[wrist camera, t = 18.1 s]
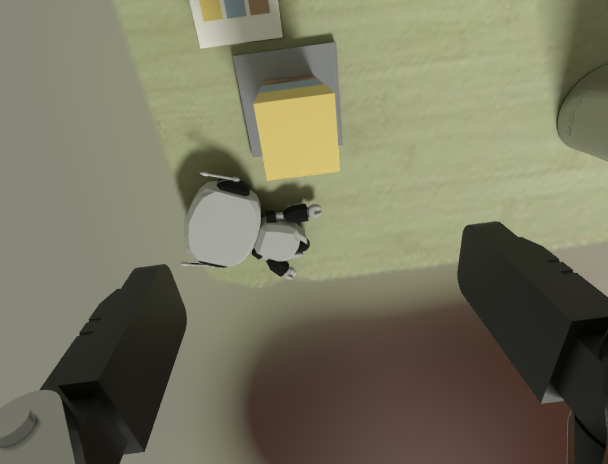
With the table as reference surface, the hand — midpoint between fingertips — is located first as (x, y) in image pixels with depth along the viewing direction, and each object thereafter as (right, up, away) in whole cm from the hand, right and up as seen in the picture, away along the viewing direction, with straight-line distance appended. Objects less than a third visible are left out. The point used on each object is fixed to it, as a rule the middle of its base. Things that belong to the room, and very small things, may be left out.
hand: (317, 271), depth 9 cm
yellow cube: (-1, +9, +17) cm, 19 cm away
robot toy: (-7, +2, +33) cm, 34 cm away
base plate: (-2, +15, +26) cm, 30 cm away
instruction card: (-7, +22, +22) cm, 32 cm away
